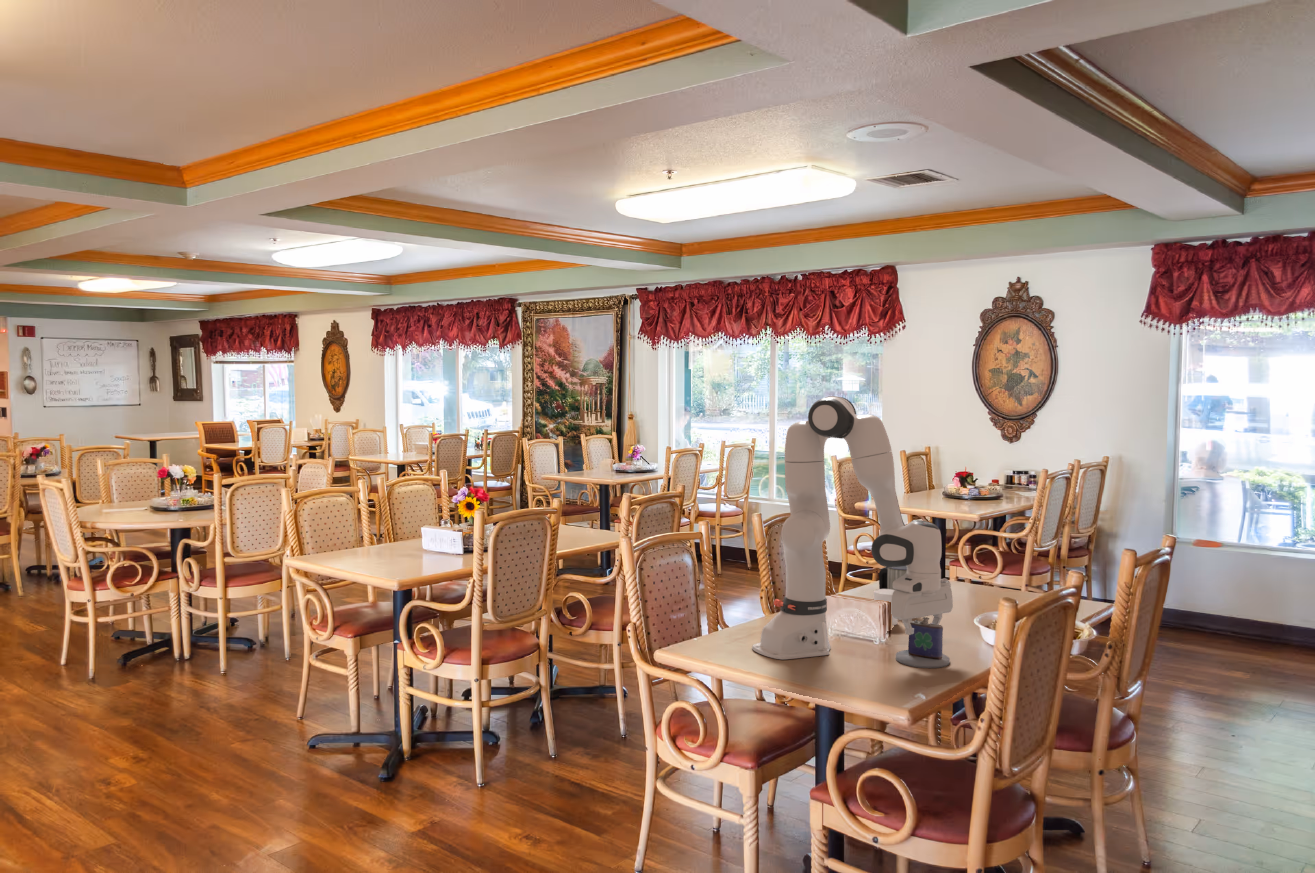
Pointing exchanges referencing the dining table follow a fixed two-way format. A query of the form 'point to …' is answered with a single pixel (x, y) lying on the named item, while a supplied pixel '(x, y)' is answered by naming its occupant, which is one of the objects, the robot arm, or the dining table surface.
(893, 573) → the milk frother
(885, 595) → the white cup
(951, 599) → the robot arm
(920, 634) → the flask
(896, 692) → the dining table surface
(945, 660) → the plate
